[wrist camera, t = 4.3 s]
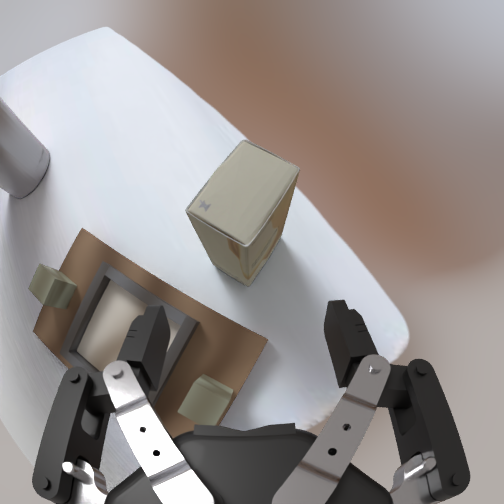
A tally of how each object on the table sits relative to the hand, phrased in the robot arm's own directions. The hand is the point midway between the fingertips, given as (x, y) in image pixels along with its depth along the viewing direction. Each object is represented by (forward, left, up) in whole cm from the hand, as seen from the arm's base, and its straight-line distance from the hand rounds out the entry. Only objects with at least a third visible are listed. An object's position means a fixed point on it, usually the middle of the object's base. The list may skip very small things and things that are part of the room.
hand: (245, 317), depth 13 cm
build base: (-12, -2, -13) cm, 17 cm away
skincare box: (0, +7, -13) cm, 15 cm away
